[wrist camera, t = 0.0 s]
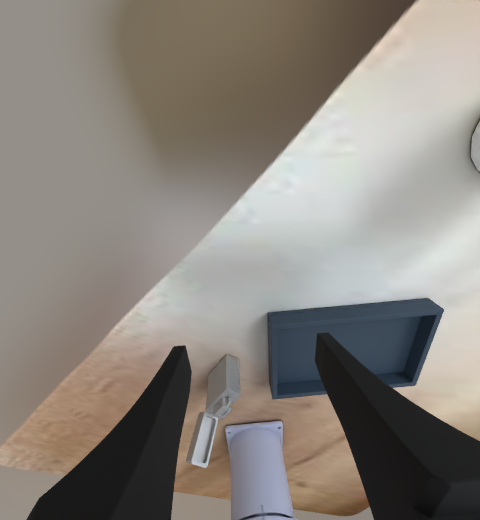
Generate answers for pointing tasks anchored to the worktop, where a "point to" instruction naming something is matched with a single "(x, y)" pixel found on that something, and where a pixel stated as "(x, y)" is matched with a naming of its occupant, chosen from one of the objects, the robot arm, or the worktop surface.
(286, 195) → the worktop surface
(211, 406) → the lighter
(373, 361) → the tray
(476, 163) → the white cup
